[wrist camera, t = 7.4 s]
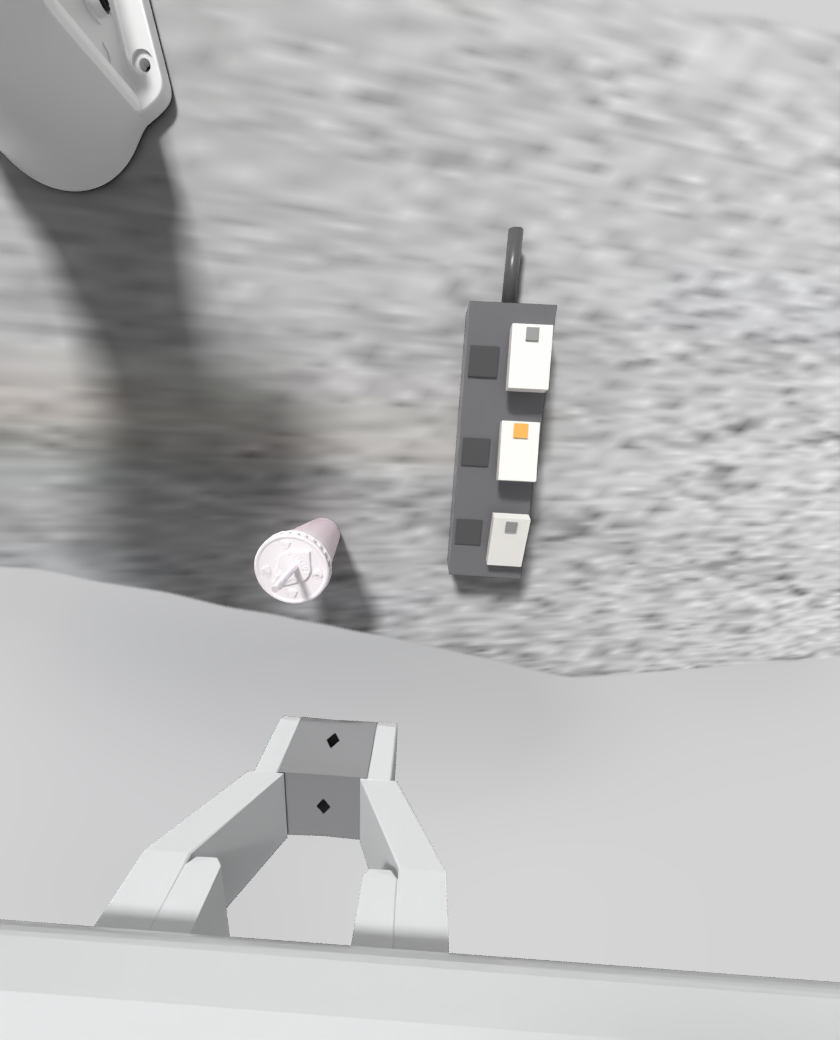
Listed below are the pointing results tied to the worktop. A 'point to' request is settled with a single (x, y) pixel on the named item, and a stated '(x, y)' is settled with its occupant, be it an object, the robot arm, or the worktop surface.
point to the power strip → (490, 423)
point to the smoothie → (298, 561)
